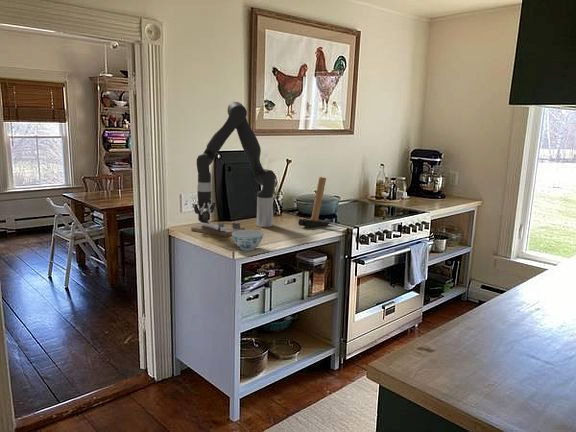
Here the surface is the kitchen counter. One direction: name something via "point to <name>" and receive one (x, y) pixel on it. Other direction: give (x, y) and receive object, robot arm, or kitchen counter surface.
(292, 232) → the kitchen counter surface
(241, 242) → the chinaware
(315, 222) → the hammer
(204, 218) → the lever
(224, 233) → the press base
